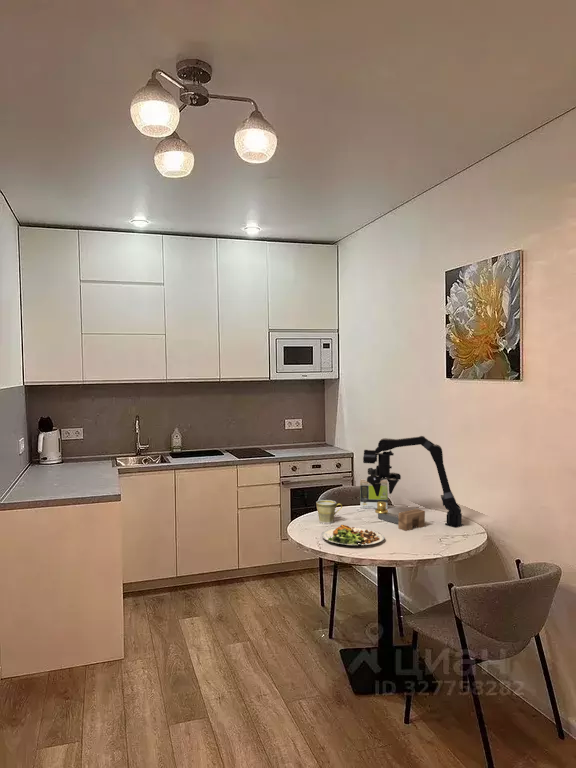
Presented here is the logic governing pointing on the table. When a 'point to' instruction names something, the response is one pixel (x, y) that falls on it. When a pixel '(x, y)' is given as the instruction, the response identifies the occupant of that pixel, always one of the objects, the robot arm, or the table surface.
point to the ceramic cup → (326, 510)
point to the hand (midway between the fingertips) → (383, 494)
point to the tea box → (372, 494)
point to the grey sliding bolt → (385, 513)
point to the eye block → (411, 519)
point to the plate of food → (352, 535)
